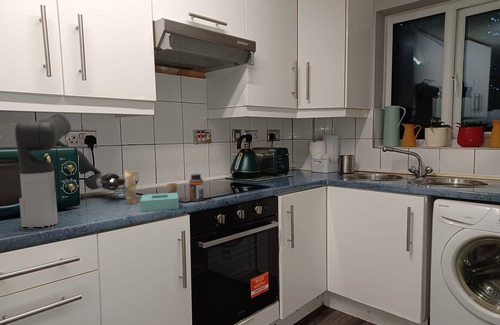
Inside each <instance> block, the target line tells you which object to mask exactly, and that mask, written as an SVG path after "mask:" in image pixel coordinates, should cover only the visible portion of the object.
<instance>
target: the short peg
mask: <svg viewBox="0 0 500 325" xmlns="http://www.w3.org/2000/svg"><path fill="white" fill-rule="evenodd" d="M166 185H167V186H166V188H167V193H178V186H177V182H176V183H175V182H174V183H167V184H166Z"/></svg>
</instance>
